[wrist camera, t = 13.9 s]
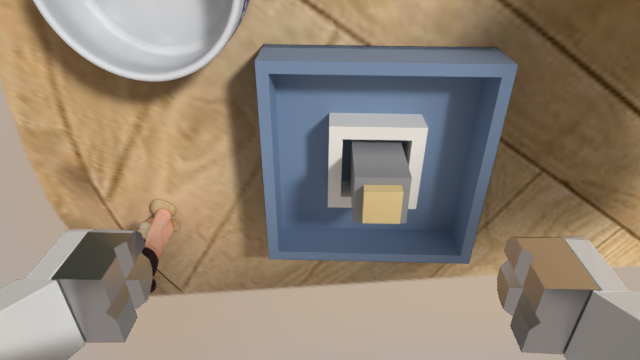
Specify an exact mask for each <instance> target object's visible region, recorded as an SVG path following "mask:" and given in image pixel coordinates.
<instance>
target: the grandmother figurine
mask: <svg viewBox="0 0 640 360" xmlns="http://www.w3.org/2000/svg"><path fill="white" fill-rule="evenodd" d="M150 210H151V212H152V213H153V214H154V217H153V218H150V219H149V220H147V222H146V221H144V222H141V223H140V225H139V230H138V232H140V233H142V236H143V239H144V242H145V247H144V249H143V250H142V252H141V253H142V254H143V255H145V256H146V257H147V258H148V259H149V260H150V263H151V266H152V275H153V279H152V284H151V290H150V292H153V291H154V290H155V288H156V286H157V285H158V284H159V283H160V277H159V276H154V275H155V273H156V270H157V267H158V259H159V257H160V256H161V254H162V252H163V250H164V248H165V247H166V245H167V243H168V241H169V239H170V237H171V236H172V234H173V232H177V231H178V230H179V229H180V224H179V222H178V221H176V220H172V219H171V216H173V215H175V213H176V207H175V206H174V205H173V204H170V203H167V202H165V201H162V200H153V201H152V202H151V204H150ZM147 300H148V297H147V299H146V301H147ZM146 301H145V302H144V303H146ZM144 303H142V304H144ZM142 304H141V305H142ZM141 305H139V306H138V307H137V308H139V307H140V306H141ZM137 308H135V309H137Z"/></svg>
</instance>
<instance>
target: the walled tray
mask: <svg viewBox="0 0 640 360" xmlns="http://www.w3.org/2000/svg"><path fill="white" fill-rule="evenodd" d="M517 68H518V64H517V63H516V62H514V61H513V60H512V59H511V58H509V57H508V56H507V55H506V54H504V53H503V52H502V51H501V50H499V49H498V48H496V47H422V46H348V45H274V44H264V45H263V46H262V48H261V50H260V52H259V54H258V56H257V57H256V59H255V73H256V87H257V101H258V115H259V128H260V142H261V156H262V170H263V183H264V197H265V211H266V225H267V239H268V252H269V259H288V260H332V261H376V262H419V263H463V264H469V261H470V257H471V253H472V249H473V245H474V241H475V237H476V233H477V229H478V225H479V221H480V217H481V213H482V209H483V205H484V201H485V197H486V193H487V189H488V185H489V181H490V177H491V173H492V169H493V165H494V161H495V157H496V153H497V149H498V145H499V141H500V137H501V132H502V128H503V124H504V120H505V116H506V112H507V108H508V104H509V100H510V96H511V92H512V88H513V84H514V80H515V76H516V72H517ZM351 139H352V140H401V144H402V147H403V150H404V154H405V157H406V160H407V163H408V167H409V170H410V173H411V177H412V180H411V188H410V196H409V204H408V212H407V220H406V223H400V224H379V223H353V218H352V203H351V187H350V151H351Z"/></svg>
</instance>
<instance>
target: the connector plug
mask: <svg viewBox="0 0 640 360" xmlns="http://www.w3.org/2000/svg"><path fill="white" fill-rule="evenodd" d="M411 180H412V177H411V173H410V170H409V167H408V163H407V160H406V157H405V154H404V150H403V147H402V144H401V140H352V139H351V151H350V187H351V203H352V218H353V223H379V224H400V223H406V220H407V212H408V204H409V196H410V188H411Z"/></svg>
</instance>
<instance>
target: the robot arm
mask: <svg viewBox="0 0 640 360" xmlns="http://www.w3.org/2000/svg"><path fill="white" fill-rule="evenodd" d="M144 247H145V242H144V239H143V236H142V233H140V232H138V231H131V230H104V229H94V230H92V229H71V230H68V231H66V232H65V233H64V234H63V235H62V236H61V237H60V239H59V240H58V241H57V242H56V243H55V244H54V245H53V247H52V248H51V249H50V250H49V251H48V253H46V255H45V256H44V257H43V258H42V259H41V260H40V261H39V263H38V264H37V265H36V266H35V267H34V268H33V270H32V271H31V272H30V273H29V274H28V275H27V276H26V278H25V279H17V280H15V281H13V282H11V283H9V284H7V285H5V286H3V287H1V288H0V360H68V359H69V358H70V357H71V356H72V355H74V354H75V353H76V352H77V351H78V350H80V349H81V348H82V347H83V346H84V345H85V342H125V341H126V339H127V337H128V335H129V333H130V331H131V329H132V327H133V325H134V323H135V321H136V319H137V315H136V311H135V308H137V307H138V306H139V305H141V304H142V303H144V302H145V301H146V299H147V297H148V295H149V293H150V290H151V284H152V279H153V275H152V266H151V263H150V260H149V259H148V258H147V257H146V256H145V255H143V254H142V253H141V252H142V250H143V249H144ZM504 251H505V253H506V256H507V258H508V260H507V261H506V262H505V263H504V264H502V265H501V266H500V268H499V273H498V277H497V290H498V295H499V299H500V302H501V305H502V307H503V309H504V310H505V311H507V312H508V313H509V314H510V315H512V316H513V318H512V322H511V325H510V326H511V329H512V331H513V333H514V336H515V338H516V340H517V343H518V345H519V347H520V350H521V352H527V353H546V354H564V357H565V358H566V359H567V360H640V293H638V292H631V291H628V290H627V288H626V287H625V286H624V285H623V283H622V282H621V280H620V279H619V278H618V277H617V275H616V274H615V273H614V272H613V270H612V269H611V268H610V266H609V265H608V264H607V262H606V261H605V260H604V259H603V257H602V256H601V255H600V253H599V252H598V251H597V250H596V248H595V247H594V246H593V244H592V243H591V242H590V241H589V240H588V239H587V238H585V237H583V236H566V237H510V239H509V240H508V241H507V244H506V247H505V250H504Z"/></svg>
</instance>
